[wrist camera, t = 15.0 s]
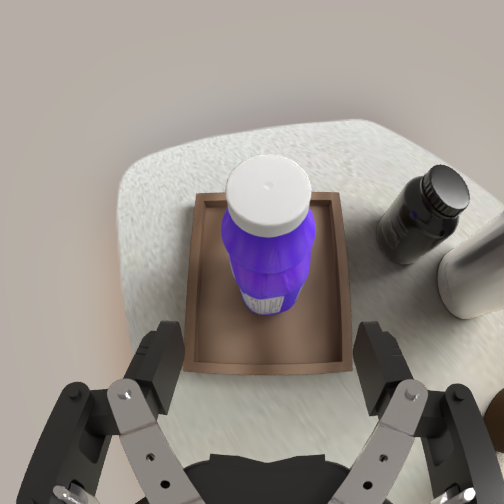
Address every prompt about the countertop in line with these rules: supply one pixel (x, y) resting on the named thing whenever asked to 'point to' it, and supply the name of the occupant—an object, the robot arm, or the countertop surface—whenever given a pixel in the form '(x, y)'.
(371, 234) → the countertop surface
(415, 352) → the countertop surface
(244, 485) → the robot arm
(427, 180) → the supplement bottle
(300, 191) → the bottle
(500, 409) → the olive oil
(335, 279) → the walnut tray
